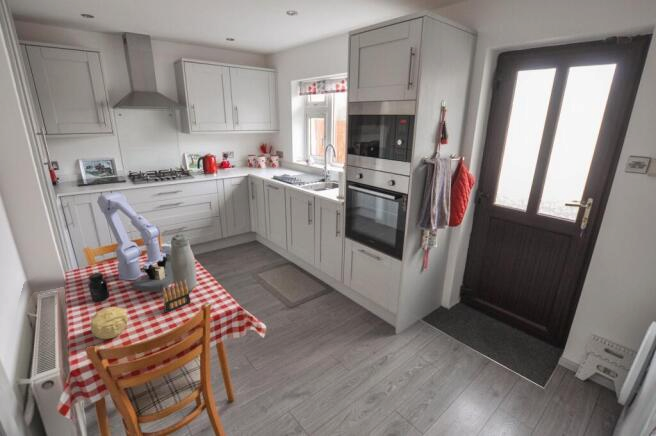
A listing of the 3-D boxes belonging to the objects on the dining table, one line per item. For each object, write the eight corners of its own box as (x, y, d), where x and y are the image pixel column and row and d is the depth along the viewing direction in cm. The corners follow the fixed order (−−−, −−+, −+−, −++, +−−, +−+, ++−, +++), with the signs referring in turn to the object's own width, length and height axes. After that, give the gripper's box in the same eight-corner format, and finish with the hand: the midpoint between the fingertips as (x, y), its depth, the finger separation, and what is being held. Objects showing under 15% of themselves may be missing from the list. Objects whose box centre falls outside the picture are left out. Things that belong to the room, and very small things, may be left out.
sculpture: (99, 348, 116) (92, 322, 113) (89, 333, 123) (83, 309, 120) (133, 333, 124) (128, 309, 121) (123, 320, 132) (118, 297, 128)
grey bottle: (201, 289, 155) (195, 235, 146) (180, 297, 148) (172, 241, 139) (192, 282, 161) (185, 230, 153) (171, 290, 154) (163, 235, 145)
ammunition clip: (166, 313, 136) (162, 288, 133) (164, 311, 138) (160, 286, 134) (190, 303, 144) (187, 279, 140) (188, 301, 145) (185, 277, 142)
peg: (149, 282, 160) (147, 269, 158) (154, 278, 164) (152, 265, 161) (160, 283, 159) (158, 270, 157) (165, 279, 163) (163, 266, 161)
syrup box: (180, 265, 178) (176, 241, 174) (174, 270, 173) (170, 245, 168) (170, 265, 179) (166, 241, 174) (164, 270, 173) (160, 245, 169)
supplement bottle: (113, 296, 148) (108, 272, 145) (99, 304, 142) (93, 279, 138) (102, 293, 150) (97, 270, 147) (88, 301, 144) (82, 277, 141)
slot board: (133, 289, 154) (132, 284, 153) (156, 272, 171) (156, 267, 170) (160, 292, 152) (159, 287, 151) (181, 274, 169) (180, 269, 168)
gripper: (151, 257, 149) (155, 283, 153) (169, 245, 162) (173, 269, 167) (137, 256, 150) (141, 282, 154) (156, 244, 163) (160, 268, 167)
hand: (157, 275), depth 160 cm, fingers open, 7 cm apart
